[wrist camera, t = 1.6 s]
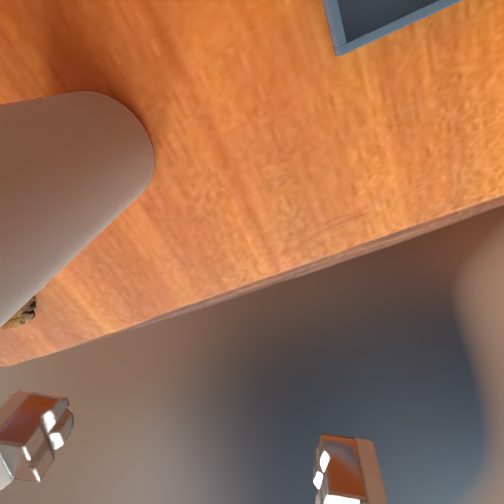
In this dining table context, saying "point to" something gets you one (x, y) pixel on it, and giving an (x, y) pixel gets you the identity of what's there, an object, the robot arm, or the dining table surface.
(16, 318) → the bread roll
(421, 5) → the tub
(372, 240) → the dining table surface
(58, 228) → the cylinder vase
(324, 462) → the robot arm
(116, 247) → the dining table surface
